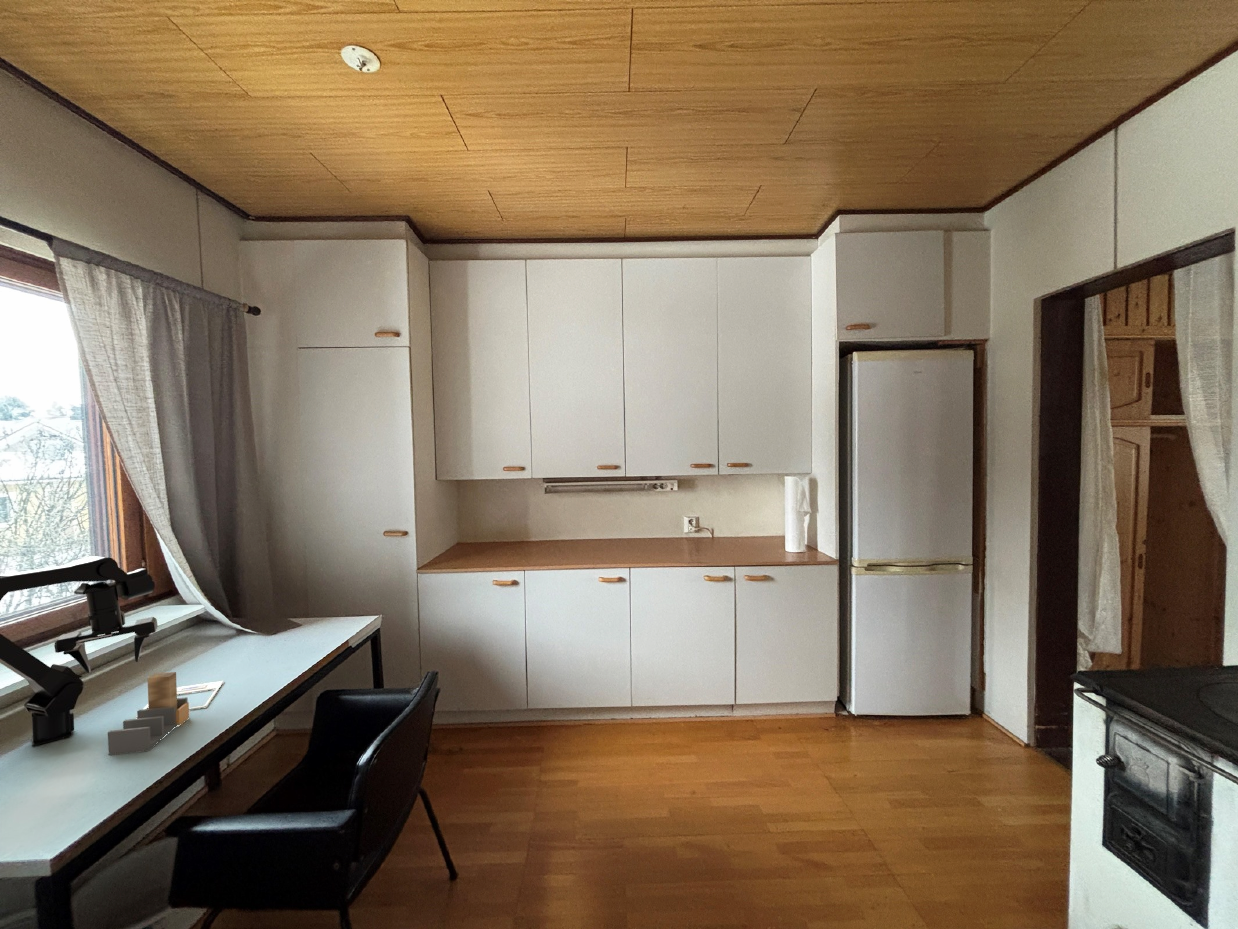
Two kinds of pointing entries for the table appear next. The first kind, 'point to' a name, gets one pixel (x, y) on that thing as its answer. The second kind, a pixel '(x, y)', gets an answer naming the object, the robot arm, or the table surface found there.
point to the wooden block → (162, 690)
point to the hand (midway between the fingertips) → (113, 666)
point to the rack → (147, 728)
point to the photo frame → (197, 689)
